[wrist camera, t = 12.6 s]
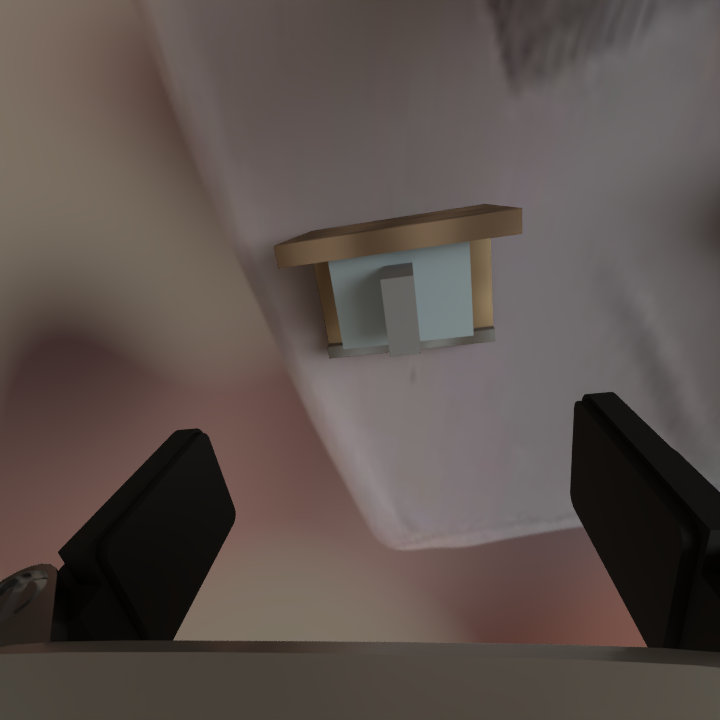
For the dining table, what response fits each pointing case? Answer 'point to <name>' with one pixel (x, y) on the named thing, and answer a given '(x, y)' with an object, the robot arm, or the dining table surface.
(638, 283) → the dining table surface
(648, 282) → the dining table surface
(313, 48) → the dining table surface
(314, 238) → the cleat board
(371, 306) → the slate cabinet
